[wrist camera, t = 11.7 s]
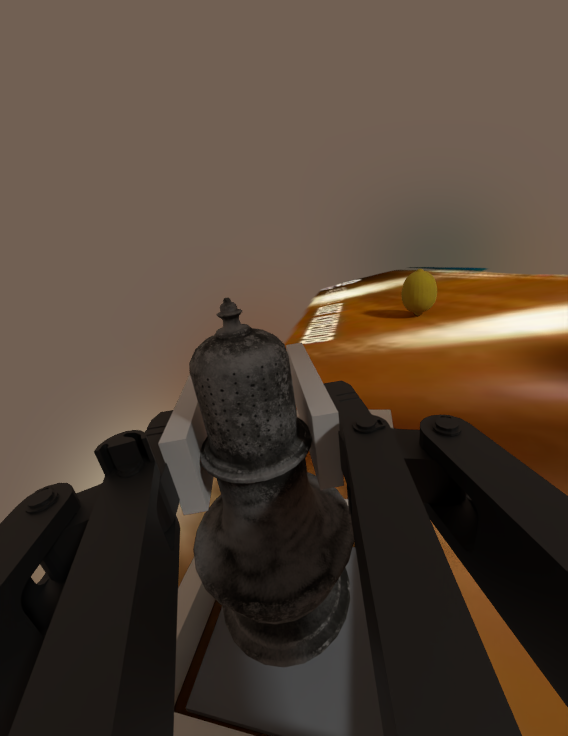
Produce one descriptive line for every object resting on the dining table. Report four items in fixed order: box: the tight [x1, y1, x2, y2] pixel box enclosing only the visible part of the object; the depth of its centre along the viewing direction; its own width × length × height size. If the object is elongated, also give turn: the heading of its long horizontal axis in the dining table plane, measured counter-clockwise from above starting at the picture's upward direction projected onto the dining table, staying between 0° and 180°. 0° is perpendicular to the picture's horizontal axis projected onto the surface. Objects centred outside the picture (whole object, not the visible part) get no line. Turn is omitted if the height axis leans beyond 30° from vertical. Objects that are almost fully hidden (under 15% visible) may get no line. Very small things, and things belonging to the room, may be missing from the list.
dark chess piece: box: [189, 298, 354, 667], centre depth 10 cm, size 6×6×12 cm
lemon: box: [402, 269, 437, 316], centre depth 52 cm, size 6×6×8 cm
